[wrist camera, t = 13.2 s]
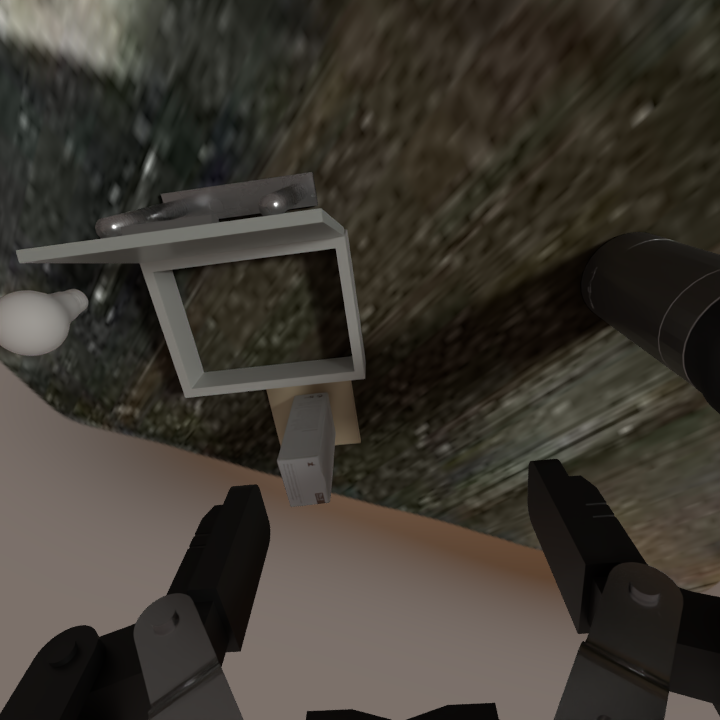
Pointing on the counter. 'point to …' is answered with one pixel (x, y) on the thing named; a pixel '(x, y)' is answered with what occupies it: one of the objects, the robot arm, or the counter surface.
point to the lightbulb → (38, 319)
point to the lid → (190, 238)
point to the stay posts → (221, 202)
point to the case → (262, 376)
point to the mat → (339, 403)
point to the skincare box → (308, 450)
